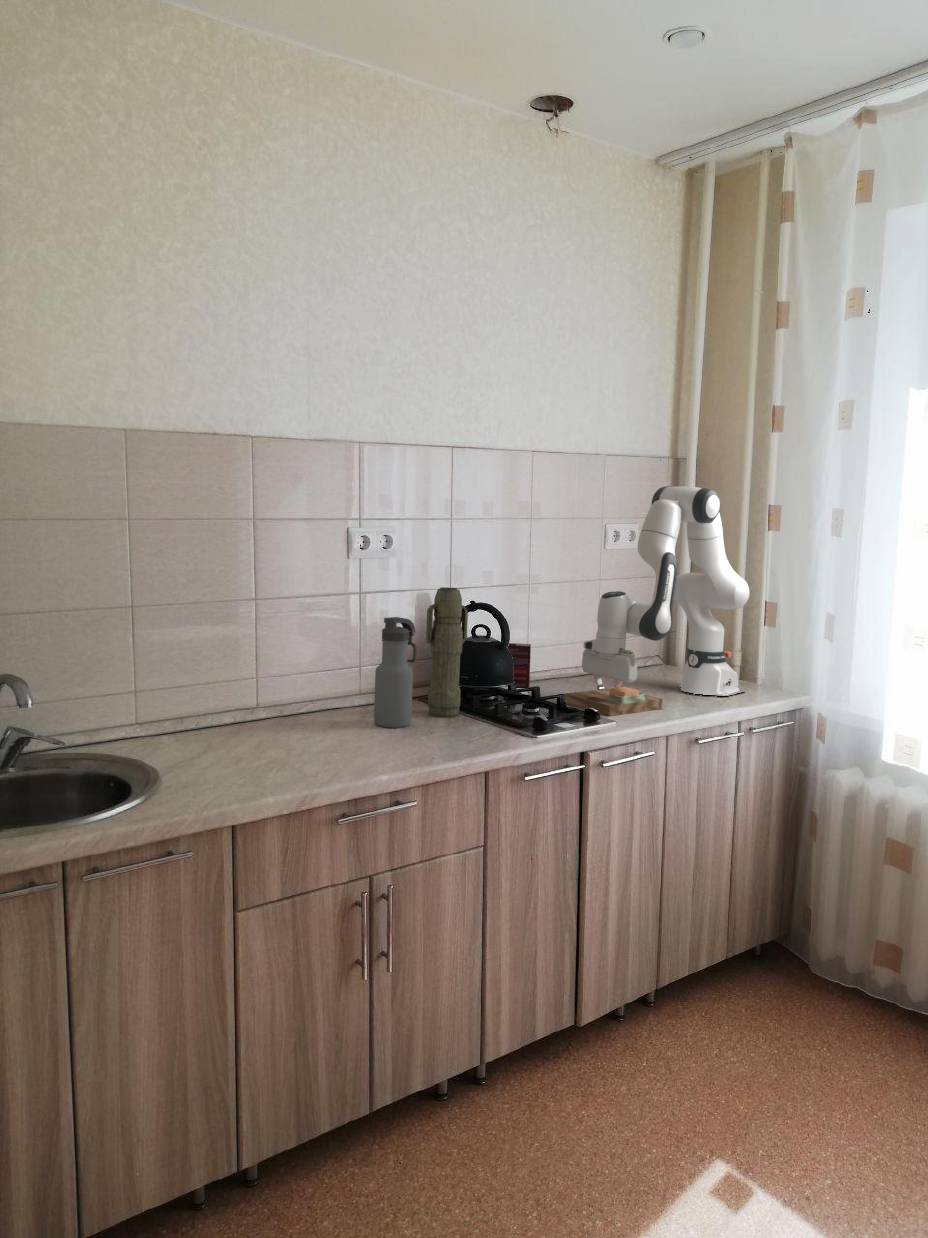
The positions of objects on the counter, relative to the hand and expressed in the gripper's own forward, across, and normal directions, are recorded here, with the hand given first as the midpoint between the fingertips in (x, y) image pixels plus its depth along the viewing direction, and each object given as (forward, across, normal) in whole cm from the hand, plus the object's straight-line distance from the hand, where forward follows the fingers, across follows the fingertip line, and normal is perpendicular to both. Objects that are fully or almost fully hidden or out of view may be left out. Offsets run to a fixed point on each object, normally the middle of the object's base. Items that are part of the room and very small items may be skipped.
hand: (607, 692), depth 276 cm
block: (+1, -7, 0) cm, 7 cm away
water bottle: (+4, +7, +70) cm, 71 cm away
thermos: (+4, +11, +51) cm, 53 cm away
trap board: (+4, -1, -1) cm, 4 cm away
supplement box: (+4, +25, +16) cm, 30 cm away
